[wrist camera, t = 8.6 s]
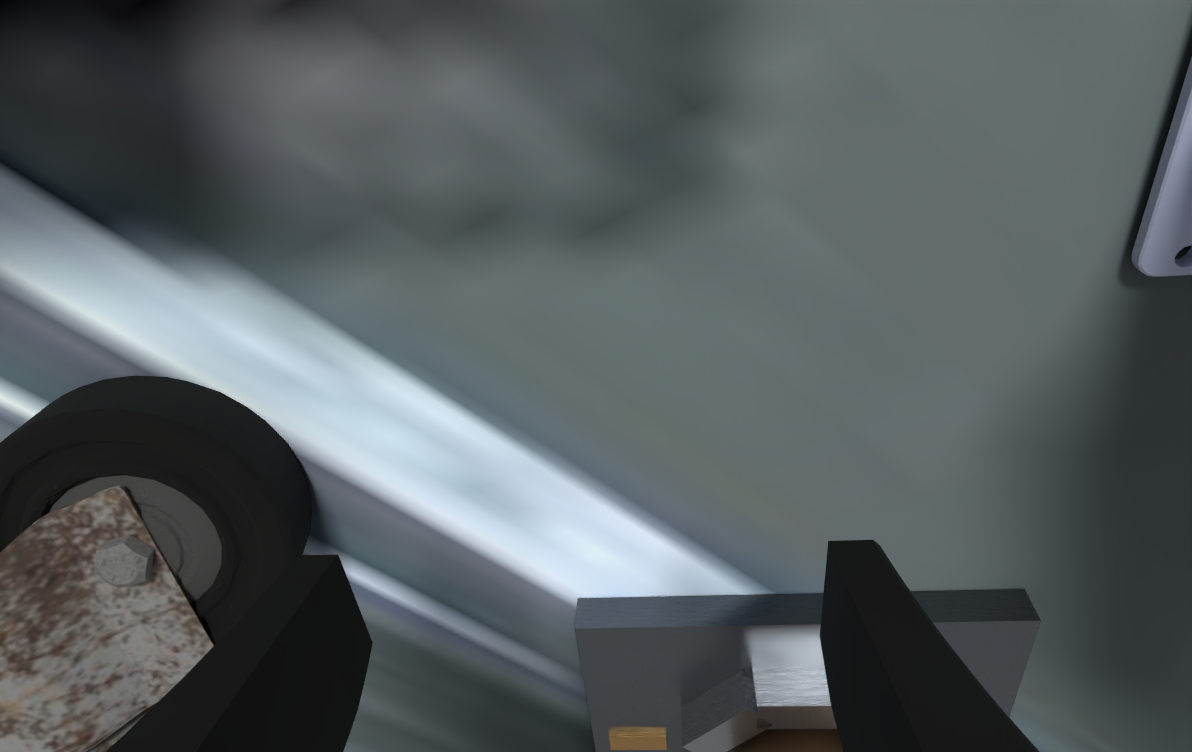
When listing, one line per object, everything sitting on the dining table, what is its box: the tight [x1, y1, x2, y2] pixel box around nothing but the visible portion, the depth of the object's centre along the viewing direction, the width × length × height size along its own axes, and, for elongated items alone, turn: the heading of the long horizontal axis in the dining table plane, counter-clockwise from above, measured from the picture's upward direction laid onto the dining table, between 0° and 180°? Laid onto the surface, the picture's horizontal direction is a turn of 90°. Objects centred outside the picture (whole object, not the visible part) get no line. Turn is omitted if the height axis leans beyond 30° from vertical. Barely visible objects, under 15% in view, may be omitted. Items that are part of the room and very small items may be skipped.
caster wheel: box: [0, 376, 311, 752], centre depth 22 cm, size 7×11×10 cm
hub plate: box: [575, 589, 1041, 752], centre depth 27 cm, size 14×12×3 cm
